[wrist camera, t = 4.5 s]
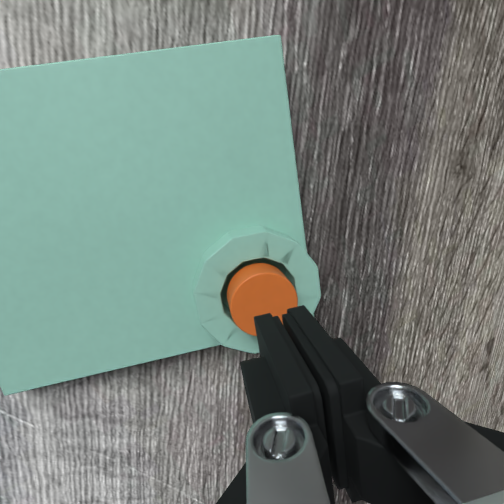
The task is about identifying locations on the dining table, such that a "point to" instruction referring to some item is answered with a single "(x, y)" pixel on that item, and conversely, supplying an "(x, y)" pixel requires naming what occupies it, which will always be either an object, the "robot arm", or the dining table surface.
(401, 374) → the dining table surface
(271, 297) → the power button
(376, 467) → the robot arm
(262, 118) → the scale
